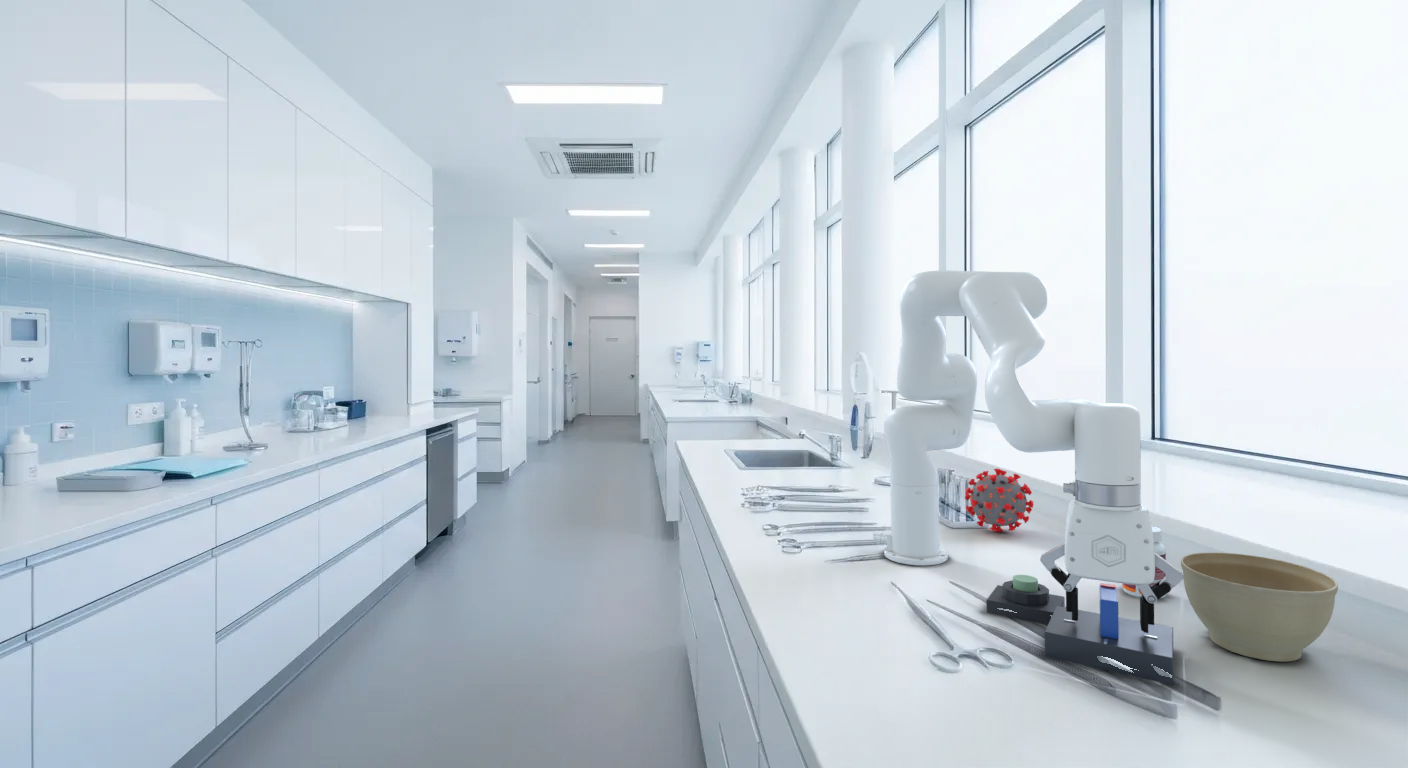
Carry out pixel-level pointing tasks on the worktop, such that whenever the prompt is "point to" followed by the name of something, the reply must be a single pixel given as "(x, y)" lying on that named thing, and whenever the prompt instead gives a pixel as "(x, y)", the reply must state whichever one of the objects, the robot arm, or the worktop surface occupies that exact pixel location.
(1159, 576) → the pill bottle
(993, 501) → the virus model
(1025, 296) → the robot arm
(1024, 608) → the block
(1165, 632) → the panel
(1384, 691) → the worktop surface
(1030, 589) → the button
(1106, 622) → the blue flat block
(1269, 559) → the planter bowl
